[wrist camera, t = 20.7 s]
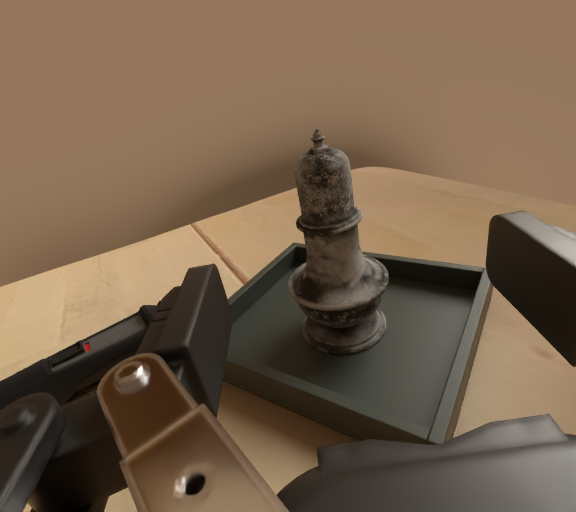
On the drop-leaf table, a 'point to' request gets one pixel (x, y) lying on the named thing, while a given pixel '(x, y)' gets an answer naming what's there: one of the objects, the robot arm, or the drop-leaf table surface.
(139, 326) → the electric trimmer
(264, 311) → the tray
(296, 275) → the salt shaker
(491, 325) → the drop-leaf table surface
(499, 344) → the drop-leaf table surface
